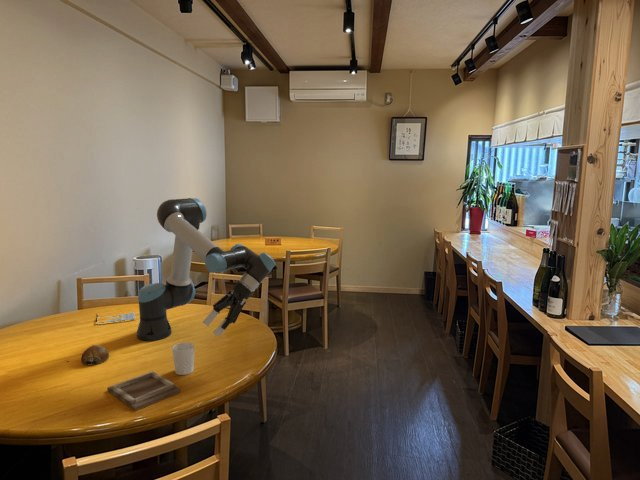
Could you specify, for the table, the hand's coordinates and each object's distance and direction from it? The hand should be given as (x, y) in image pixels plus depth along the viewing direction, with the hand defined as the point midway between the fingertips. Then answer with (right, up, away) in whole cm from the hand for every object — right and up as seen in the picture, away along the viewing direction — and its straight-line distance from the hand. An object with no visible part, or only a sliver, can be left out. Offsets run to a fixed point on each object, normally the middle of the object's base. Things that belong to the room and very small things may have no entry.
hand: (210, 329), depth 172 cm
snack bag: (-64, -6, +59) cm, 88 cm away
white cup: (-9, -16, -3) cm, 18 cm away
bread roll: (-48, -14, +7) cm, 51 cm away
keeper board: (-19, -18, -19) cm, 32 cm away
